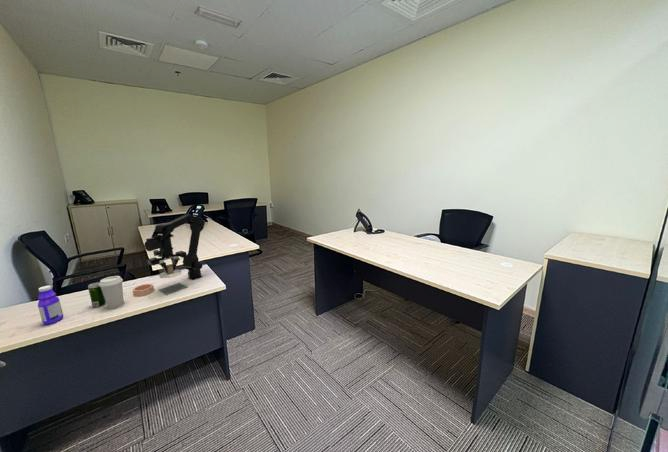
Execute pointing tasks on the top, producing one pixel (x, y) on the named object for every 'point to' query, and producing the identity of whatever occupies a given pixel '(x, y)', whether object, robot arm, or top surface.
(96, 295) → the beer can
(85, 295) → the top surface
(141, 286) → the bowl
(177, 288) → the mat
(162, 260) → the robot arm
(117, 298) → the coffee cup
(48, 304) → the bottle
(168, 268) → the lid
